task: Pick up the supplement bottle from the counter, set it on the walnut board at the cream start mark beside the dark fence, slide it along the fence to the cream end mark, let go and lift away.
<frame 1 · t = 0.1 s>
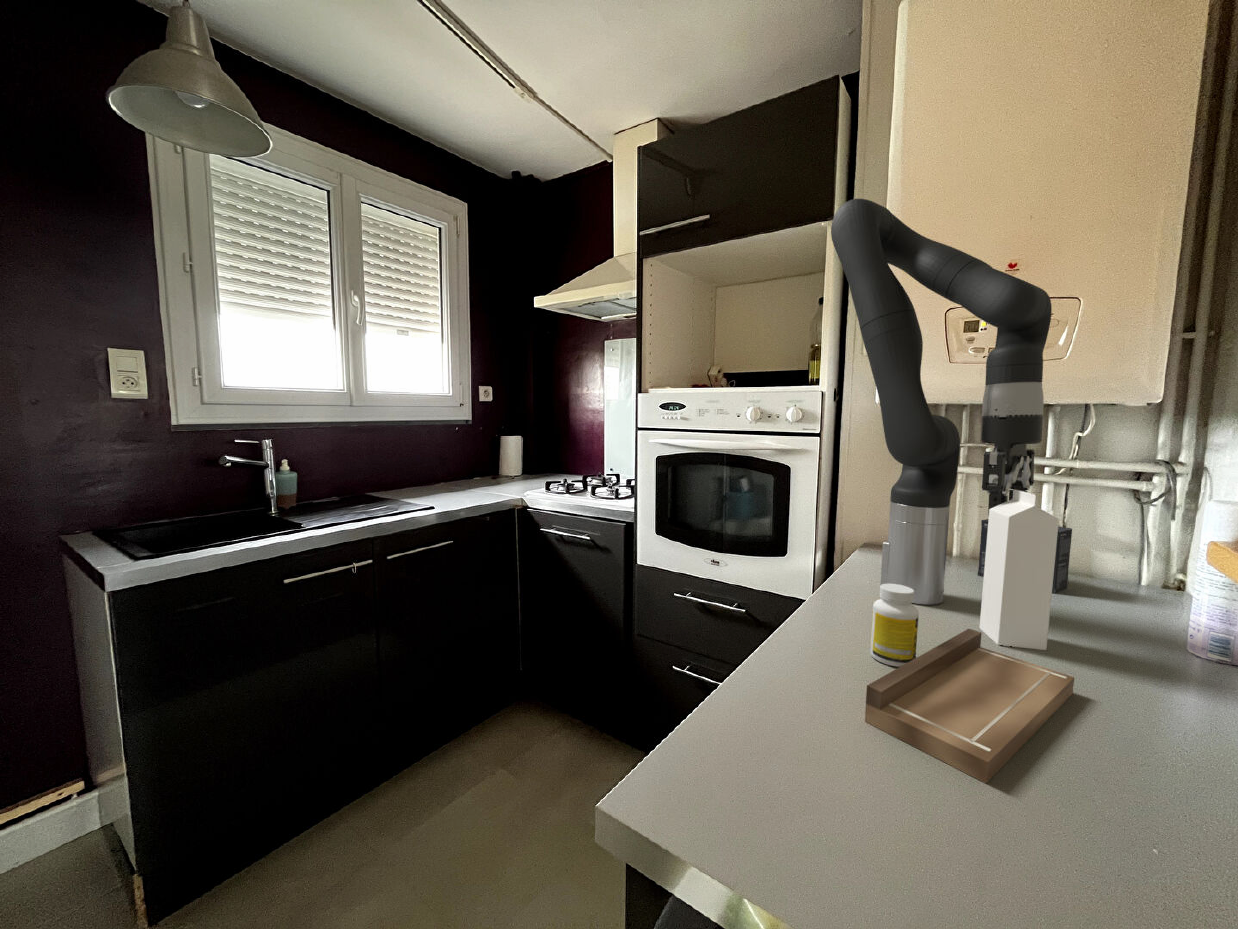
hand: (1007, 515, 79), 17 cm above the countertop, tool pointing down, fingers open, 8 cm apart
small box: (1020, 582, 101), on the countertop
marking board: (974, 706, 56), on the countertop
supplement bottle: (892, 660, 67), on the countertop
milk: (1011, 640, 74), on the countertop, touching gripper
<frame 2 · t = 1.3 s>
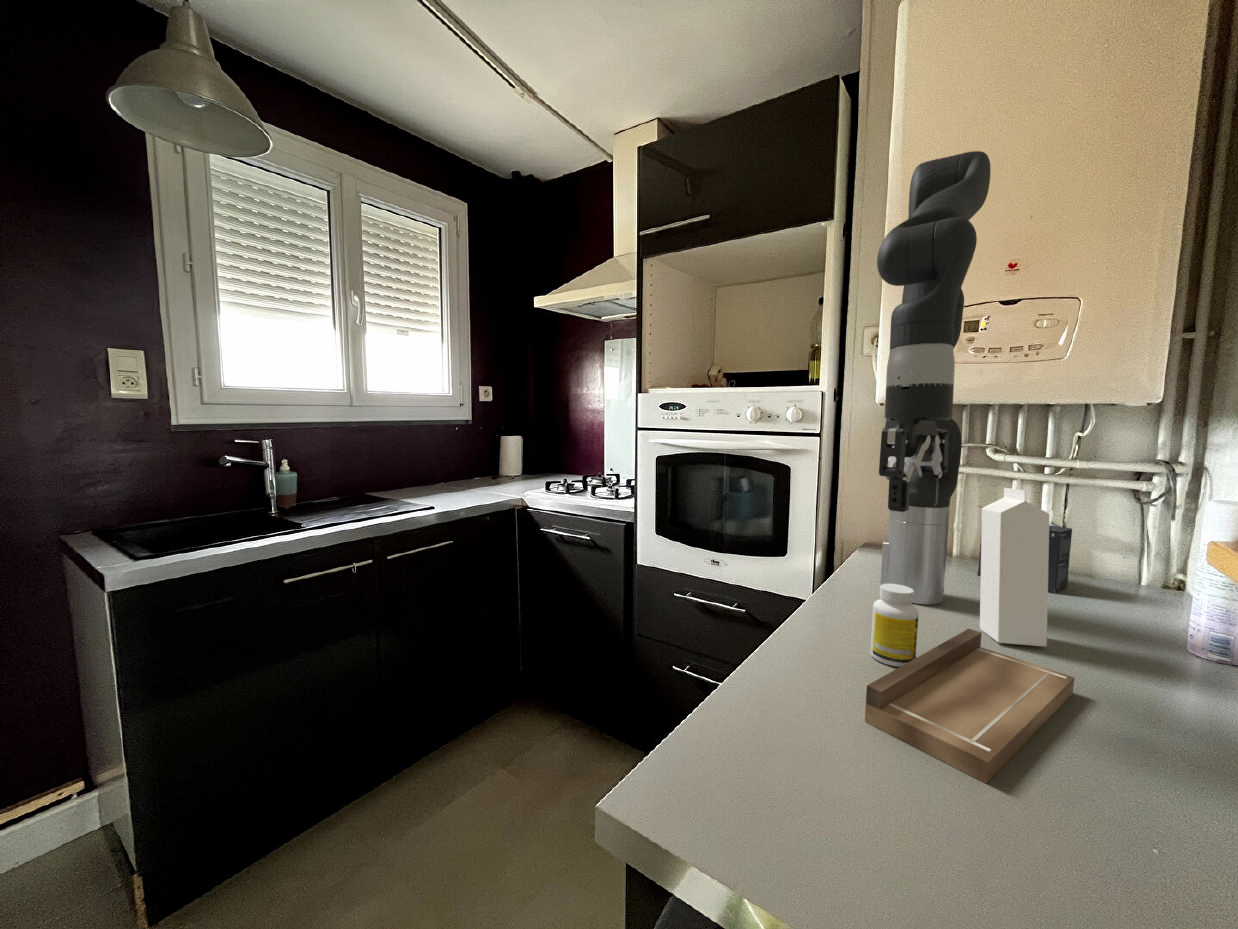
hand: (913, 508, 65), 21 cm above the countertop, tool pointing down, fingers open, 8 cm apart
milk: (1011, 638, 74), on the countertop
everything else where it was.
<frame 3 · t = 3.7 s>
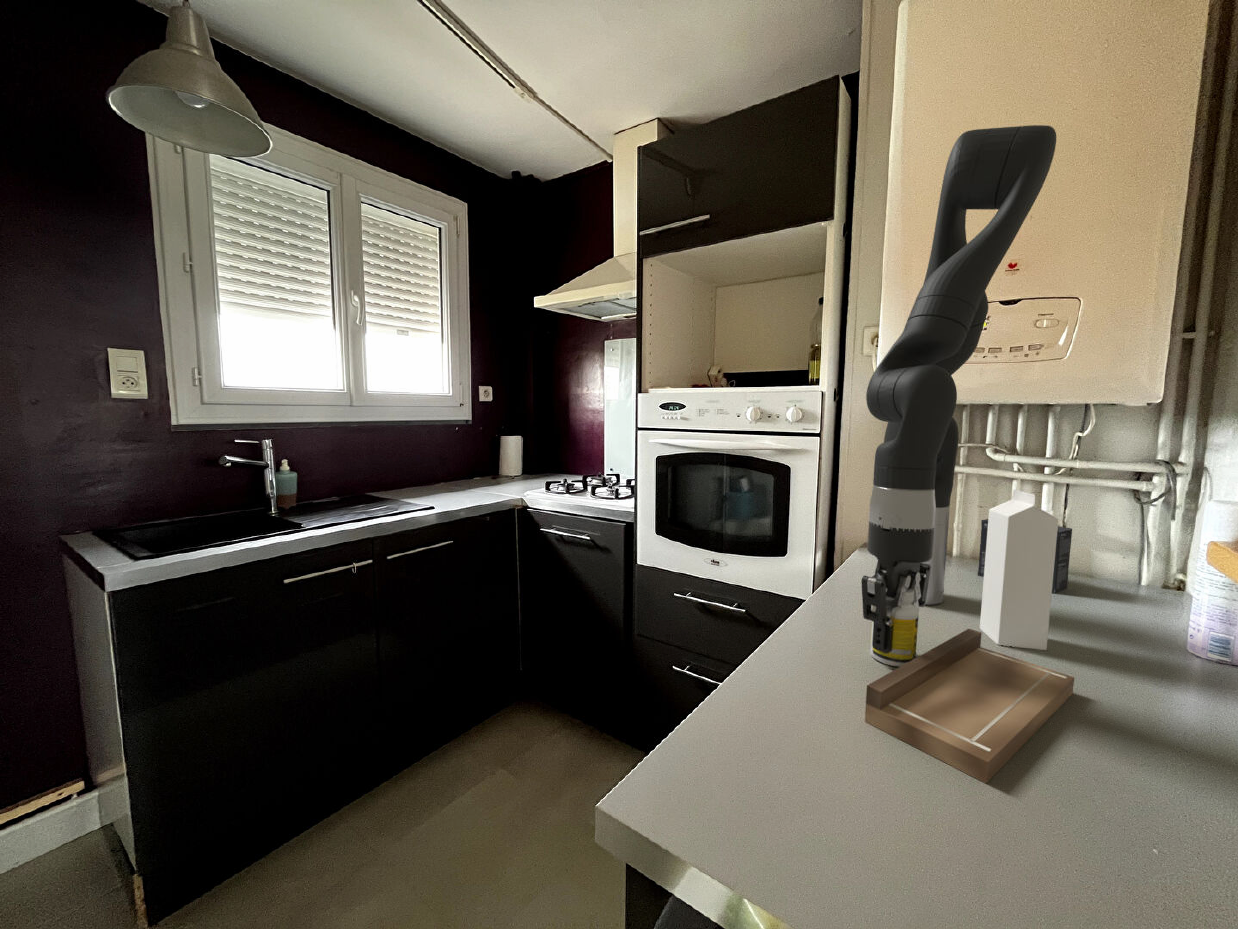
hand: (893, 644, 67), 2 cm above the countertop, tool pointing down, fingers closed on supplement bottle, 5 cm apart
supplement bottle: (892, 660, 67), on the countertop, touching gripper
when the fingers open (4 cm above the countertop, at t = 13.2 s): supplement bottle stays where it is, resting on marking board.
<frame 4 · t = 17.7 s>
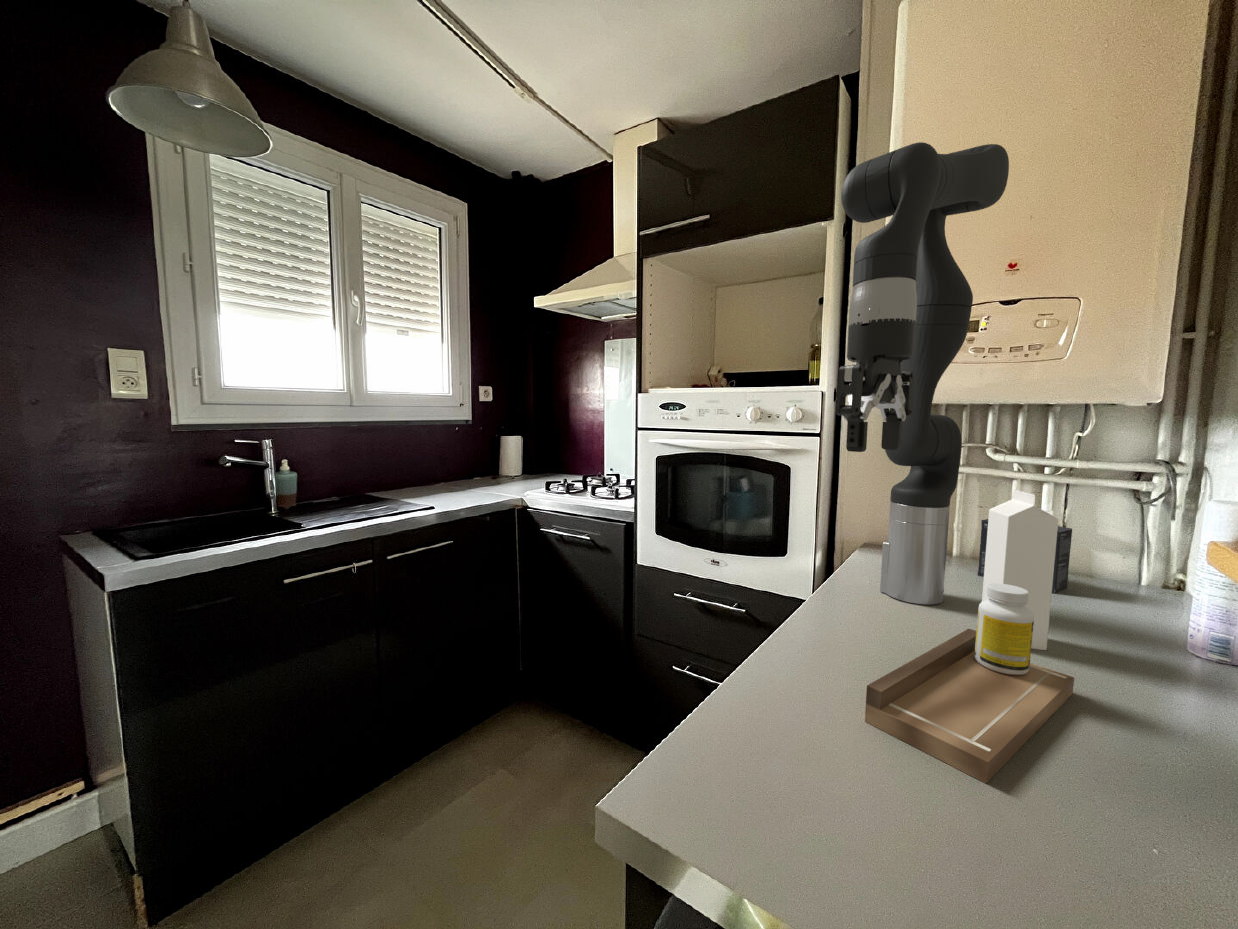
hand: (873, 450, 64), 28 cm above the countertop, tool pointing down, fingers open, 8 cm apart
supplement bottle: (1000, 667, 61), point 2 cm above the countertop, touching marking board
everything else where it was.
at the end: supplement bottle 0.8 cm from the target spot, point 1.8 cm above the countertop; supplement bottle tilted 0°; the gripper is holding nothing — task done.
